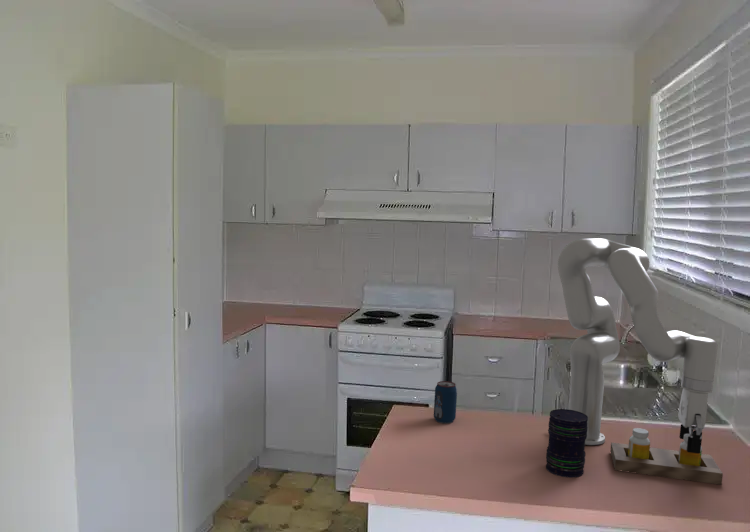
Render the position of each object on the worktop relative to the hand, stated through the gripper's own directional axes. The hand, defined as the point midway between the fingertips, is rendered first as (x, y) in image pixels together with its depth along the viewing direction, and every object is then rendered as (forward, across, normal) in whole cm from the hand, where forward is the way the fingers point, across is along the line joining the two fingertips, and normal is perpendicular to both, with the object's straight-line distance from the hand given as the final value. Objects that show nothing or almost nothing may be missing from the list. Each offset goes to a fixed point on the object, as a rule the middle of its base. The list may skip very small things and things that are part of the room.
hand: (689, 445), depth 179 cm
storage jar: (+8, +11, -32) cm, 35 cm away
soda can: (+9, -16, -68) cm, 70 cm away
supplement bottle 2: (+7, 0, 0) cm, 7 cm away
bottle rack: (+7, 0, -6) cm, 9 cm away
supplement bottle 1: (+7, 0, -12) cm, 14 cm away
